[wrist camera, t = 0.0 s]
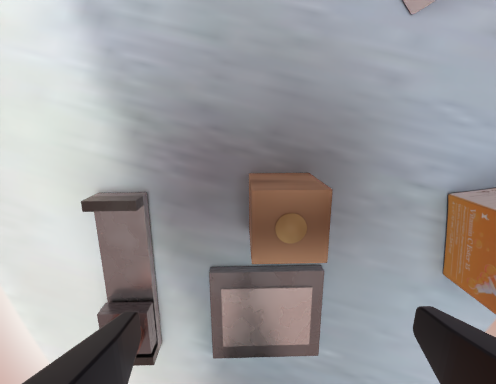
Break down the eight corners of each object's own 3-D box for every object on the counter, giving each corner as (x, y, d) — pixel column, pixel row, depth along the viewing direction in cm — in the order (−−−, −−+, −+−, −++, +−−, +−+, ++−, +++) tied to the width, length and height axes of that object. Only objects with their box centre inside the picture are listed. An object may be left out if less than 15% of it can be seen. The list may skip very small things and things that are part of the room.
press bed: (315, 347, 27) (318, 357, 26) (214, 349, 27) (212, 360, 25) (320, 265, 25) (324, 272, 23) (210, 267, 24) (209, 274, 23)
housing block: (306, 228, 24) (327, 263, 18) (249, 229, 24) (252, 265, 18) (308, 172, 23) (333, 190, 17) (248, 173, 22) (251, 191, 17)
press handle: (156, 340, 25) (127, 414, 18) (111, 341, 24) (67, 416, 18) (152, 301, 24) (120, 366, 17) (106, 302, 24) (56, 368, 17)
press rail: (161, 342, 26) (154, 364, 24) (120, 343, 26) (107, 366, 24) (146, 192, 23) (135, 200, 20) (98, 192, 22) (81, 201, 20)
